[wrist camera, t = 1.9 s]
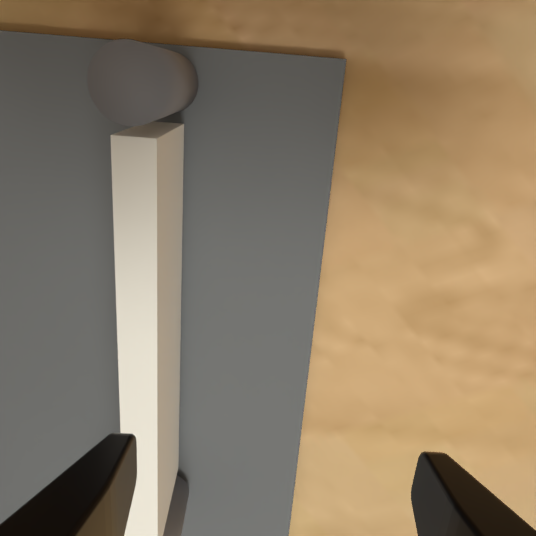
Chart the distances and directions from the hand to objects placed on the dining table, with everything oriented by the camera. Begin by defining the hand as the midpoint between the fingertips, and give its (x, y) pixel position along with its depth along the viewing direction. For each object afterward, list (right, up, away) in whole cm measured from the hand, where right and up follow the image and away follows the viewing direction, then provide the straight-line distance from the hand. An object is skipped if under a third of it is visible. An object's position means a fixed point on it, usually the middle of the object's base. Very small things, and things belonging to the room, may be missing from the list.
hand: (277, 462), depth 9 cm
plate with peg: (-10, +1, +13) cm, 16 cm away
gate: (-4, 0, +12) cm, 13 cm away
